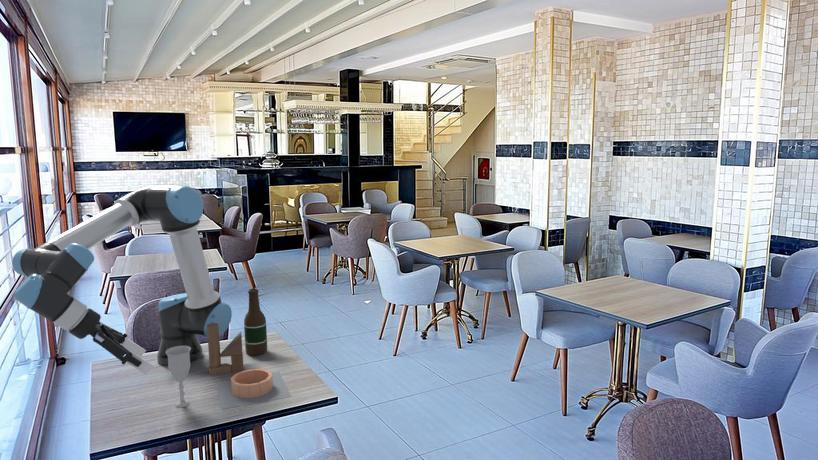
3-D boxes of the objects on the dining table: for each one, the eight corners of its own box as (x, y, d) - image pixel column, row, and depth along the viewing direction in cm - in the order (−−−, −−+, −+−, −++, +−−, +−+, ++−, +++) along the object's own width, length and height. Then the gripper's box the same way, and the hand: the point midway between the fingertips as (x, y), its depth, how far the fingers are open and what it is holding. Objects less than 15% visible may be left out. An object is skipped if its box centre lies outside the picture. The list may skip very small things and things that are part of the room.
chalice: (171, 405, 165) (166, 347, 162) (195, 401, 167) (191, 344, 164) (169, 416, 158) (164, 356, 155) (195, 412, 160) (190, 353, 157)
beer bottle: (245, 357, 201) (241, 292, 198) (246, 349, 209) (242, 287, 205) (267, 355, 203) (264, 291, 200) (267, 347, 211) (264, 285, 207)
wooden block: (243, 375, 186) (240, 323, 183) (209, 379, 183) (205, 326, 180) (243, 371, 189) (240, 320, 186) (210, 375, 186) (206, 323, 184)
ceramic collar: (230, 385, 175) (229, 372, 174) (269, 378, 179) (268, 366, 179) (234, 401, 164) (233, 388, 163) (275, 393, 168) (274, 381, 168)
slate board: (216, 386, 177) (215, 382, 177) (279, 376, 185) (279, 371, 185) (221, 414, 159) (220, 409, 159) (291, 401, 167) (291, 396, 166)
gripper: (65, 318, 154) (130, 358, 164) (68, 345, 133) (142, 389, 143) (86, 297, 156) (148, 338, 166) (92, 320, 135) (163, 365, 145)
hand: (146, 362), depth 155 cm, fingers open, 13 cm apart
